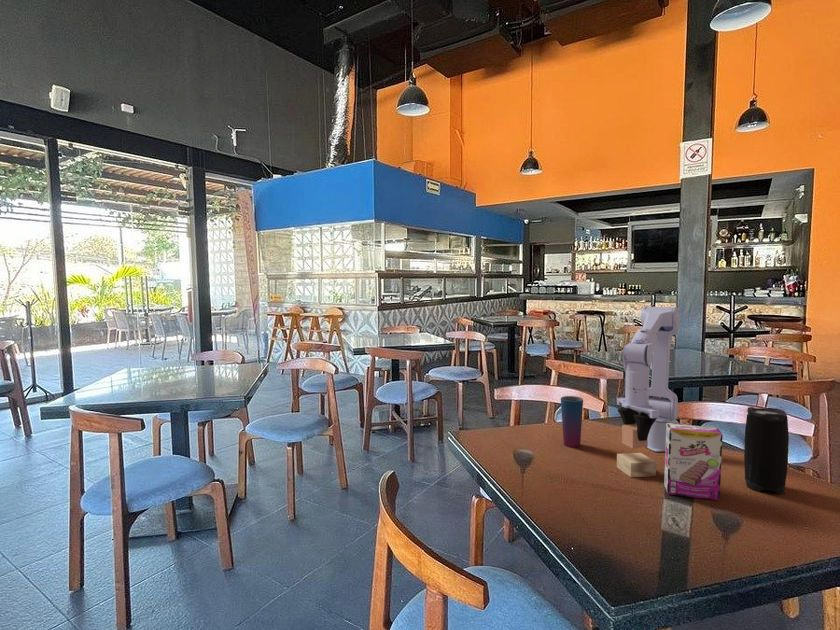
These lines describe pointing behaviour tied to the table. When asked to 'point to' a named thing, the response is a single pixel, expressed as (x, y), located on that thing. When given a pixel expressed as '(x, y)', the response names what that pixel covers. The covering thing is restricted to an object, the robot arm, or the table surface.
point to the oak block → (636, 464)
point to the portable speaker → (766, 449)
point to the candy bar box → (693, 461)
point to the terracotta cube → (632, 437)
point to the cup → (571, 420)
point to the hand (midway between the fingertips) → (636, 437)
